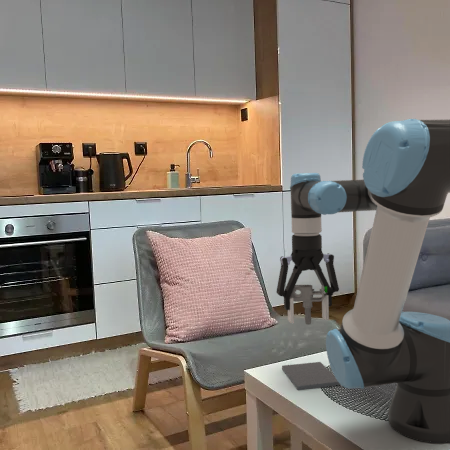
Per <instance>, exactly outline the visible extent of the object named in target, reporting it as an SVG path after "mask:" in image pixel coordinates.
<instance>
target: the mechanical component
mask: <svg viewBox="0 0 450 450" xmlns="http://www.w3.org/2000/svg"><path fill="white" fill-rule="evenodd" d="M297 291H299V292H300V293H297ZM324 293H327V286H326V287H325V288H324V286H322V285H321V288H319V290H315V288H313V284H296V285H295V287H294V289H293V292H292V294H291V296H290V297H292V298H293V302H300V303H301V302H302V308H304V321H305V325H307V326H308V325H311V324H312V313H311V311H312V308H313V306H314V305H313V302H322V300H323V299H324ZM315 295H316V296H317V295H318V296H320V297H314V296H315ZM322 295H323V296H322Z"/></svg>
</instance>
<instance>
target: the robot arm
mask: <svg viewBox="0 0 450 450" xmlns="http://www.w3.org/2000/svg"><path fill="white" fill-rule="evenodd" d="M362 169H363V172H362V179H345V180H341V179H340V180H321V175H320V173H318V172H305V173H304V172H302V173H301V172H300V173H293V174H291V177H290V186H289V191H290V207H291V208H290V209H291V212H290V213H291V217H290V218H291V233H292V236H291V250H292V251H291V254H290V255H287V256H280V257H279V258H280V259H279V261H280V270H279V275H278V281H277V287H276V294H277V295H278V296H280V297H283V308H284V310H286V311H287V321H288V322H289V323H290V324H294V323H295V319H294V318H295V317H294V316H295V315H294V313H295V312H294V301H293V298H292V297H290V296H291V294H292V292H293V289H294V287H295V285H297V282H298V279H299V277H300V275H301V274H302V273H303V272H304V271H309V270H310V271H314V273H315V276H316V277H317V279H318V281H319V283H320V284H321V286H324V288H325V287H326V286H327V293H325V292H324V299H323V300H322V301H321V313H322V314H321V317H322V319H324V320H325V321H330V314H329V313H330V311H329V307H332V305H333V299H332V298H333V296H334V294H335V293H337V292H339V291H340V288H339V284H338V278H337V275H336V269H335V266H334V263H335V262H334V261H335V255H334V254H331V253H330V252H329V253H323V249H322V248H323V245H322V244H323V243H322V241H323V239H322V234H321V233H322V230H323V229H322V215H324V216H326V215H334V214H335V215H336V214H339V213H351V212H354V213H355V212H370V211H371V212H372V211H375V214H374V219H373V222H372V223H373V224H372V226H371V227H372V228H371V232H370V236H369V240H368V245H367V249H366V252H365V253H366V254H365V257H364V262H363V267H362V270H361V275H360V278H359V282H358V283H359V284H358V287H357V293H356V297H355V300H354V306H353V308H352V309H350V310H349V311H347V312H346V313H345V314H344V316H343V317H342V321H341V324H340V325H341V326H340V328H333V329H331V330H329V331H328V332H327V333H326V337H325V348H326V349H325V350H326V355H327V359H328V363H329V367H330V370H331V373H332V374H333V375H334V376H335V378H336V379H337V381H338V382H339V383H340V386H342V387H344V388H345V389H348V390H349V389H350V390H351V389H361V390H362V389H365V388H370V387H378V386H383V385H391V384H396V387H395V390H394V393H393V395H392V398H391V402H390V405H389V407H388V410H387V411H388V423H389V426H390V427H391V428H392V429H393V430H394V431H396V432H397V433H399V434H401V435H402V436H405V437H407V438H410V439H413V440H416V441H420V442H427V443H434V444H439V443H441V444H442V443H443V444H444V443H445V444H446V443H450V319H448V318H445V317H443V316H440V315H435V314H432V313H426V312H419V311H403V310H404V306H405V303H406V300H407V296H408V295H409V294H408V293H409V289H410V287H411V283H412V281H413V280H412V279H413V276H414V274H415V269H416V265H417V264H418V263H417V262H418V259H419V255H420V254H421V253H420V252H421V250H422V245H423V242H424V239H425V235H426V231H427V228H428V226H429V221H430V218H433V217H435V216H437V215H439V214H441V212H442V211H443V209H444V205H445V203H446V200H447V197H448V194H449V193H450V119H416V118H409V119H404V120H394V121H393V120H392V121H389V122H386V123H385V124H383V125H382V126H380V127H379V128H377V129H376V130H375V131H374V132H373V134H372V135H371V136H370V138H369V140H368V142H367V144H366V147H365V149H364V153H363V158H362ZM322 260H323V261H324V262H325V267H326V271H327V276H328V280H329V282H328V280H327V278H326V277H325V274H324V272H323V269H322V268H321V265H320V263H321V262H322ZM291 261H292V263H293V264H294V265H293V269H292V272H291V274H290V277H289V279H288V281H287V278H288V277H287V276H288V272H289V271H288V270H289V266H290V265H291ZM286 282H287V284H286ZM329 283H330V284H329ZM322 296H323V295H321V297H322Z"/></svg>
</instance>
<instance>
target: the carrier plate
mask: <svg viewBox="0 0 450 450" xmlns="http://www.w3.org/2000/svg"><path fill="white" fill-rule="evenodd" d="M281 369H282V371H283V372H284V373H285V375H286V377H287V378H288V379H289V380H290V381H291V383H292V384H293V386H294V387H295V389H296V390H298V391H302V390H312V389H320V388H328V387H327V386H331V387H337V386H336V385H340V386H341V384H340V383H339V382H338V381H337V379H336V378H335V376H334V374H333V372H332V371H330V370H329V369H328V368H327V367H326V366H325V365H324V364H323V363H322V362H321V361H317V362H316V361H315V362H308V363H307V362H304V363H297V364H285V365H282V366H281Z"/></svg>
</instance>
